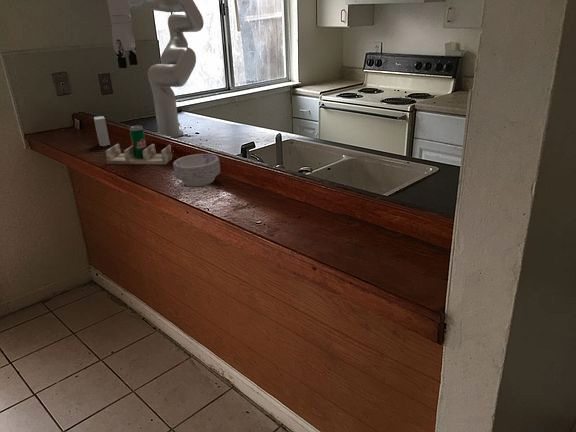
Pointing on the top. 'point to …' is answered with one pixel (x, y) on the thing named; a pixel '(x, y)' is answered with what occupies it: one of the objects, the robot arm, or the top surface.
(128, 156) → the can rack
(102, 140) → the skincare box
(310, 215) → the top surface
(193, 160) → the paper bowls
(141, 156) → the soda can
